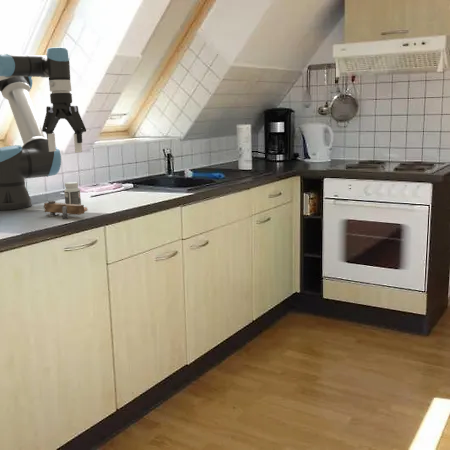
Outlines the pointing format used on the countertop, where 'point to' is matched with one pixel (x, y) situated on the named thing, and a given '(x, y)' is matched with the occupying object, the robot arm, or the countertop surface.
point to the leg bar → (57, 207)
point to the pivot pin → (53, 214)
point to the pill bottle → (72, 193)
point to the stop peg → (64, 212)
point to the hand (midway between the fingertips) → (65, 151)
